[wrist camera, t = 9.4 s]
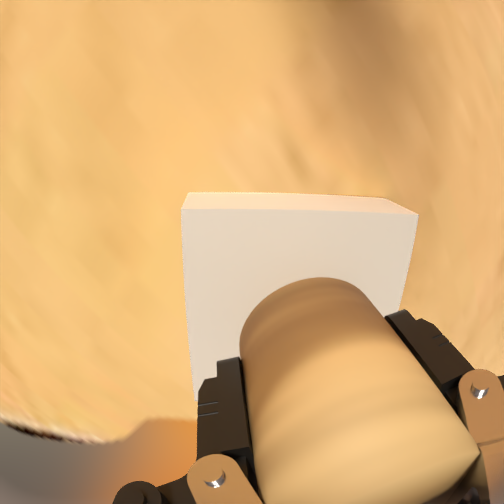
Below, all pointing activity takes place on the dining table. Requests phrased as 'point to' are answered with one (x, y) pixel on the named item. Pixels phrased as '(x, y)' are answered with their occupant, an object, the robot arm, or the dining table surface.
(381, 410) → the ochre cylinder
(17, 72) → the dining table surface
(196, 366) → the white base
